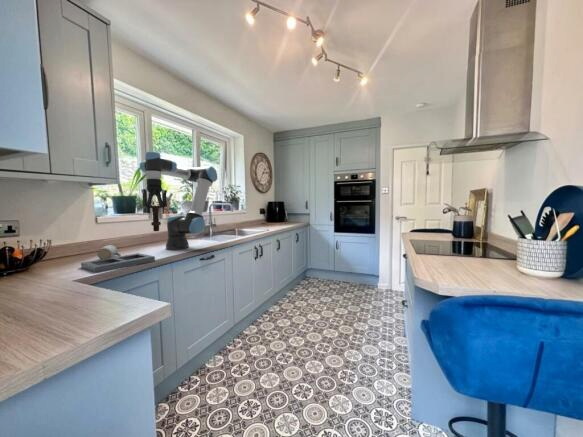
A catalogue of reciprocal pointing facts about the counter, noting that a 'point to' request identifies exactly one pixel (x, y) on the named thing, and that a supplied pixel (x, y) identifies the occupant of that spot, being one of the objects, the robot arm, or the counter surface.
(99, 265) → the hole plate
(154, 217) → the bolt
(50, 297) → the counter surface
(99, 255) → the ceramic mug
